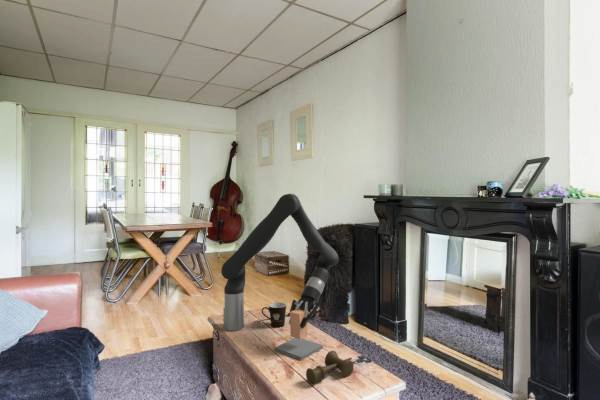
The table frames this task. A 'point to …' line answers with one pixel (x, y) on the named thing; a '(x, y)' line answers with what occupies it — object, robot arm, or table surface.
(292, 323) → the terracotta block
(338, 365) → the kendama
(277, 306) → the coffee mug
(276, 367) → the table surface
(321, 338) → the table surface
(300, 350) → the slate tile
